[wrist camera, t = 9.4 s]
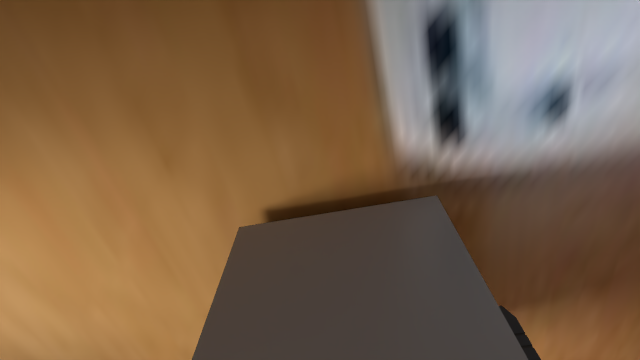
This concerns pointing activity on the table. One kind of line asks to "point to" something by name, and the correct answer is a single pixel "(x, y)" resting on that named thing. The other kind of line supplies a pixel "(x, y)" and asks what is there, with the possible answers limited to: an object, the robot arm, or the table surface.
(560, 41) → the table surface
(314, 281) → the cover
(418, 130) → the table surface
